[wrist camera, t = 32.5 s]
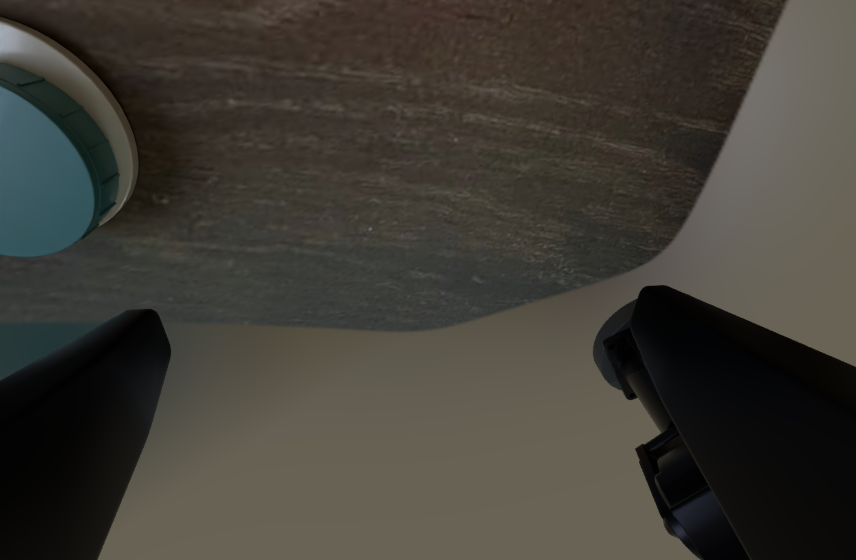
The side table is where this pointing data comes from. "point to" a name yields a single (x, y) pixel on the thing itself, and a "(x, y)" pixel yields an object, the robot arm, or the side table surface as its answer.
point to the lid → (49, 167)
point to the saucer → (75, 95)
